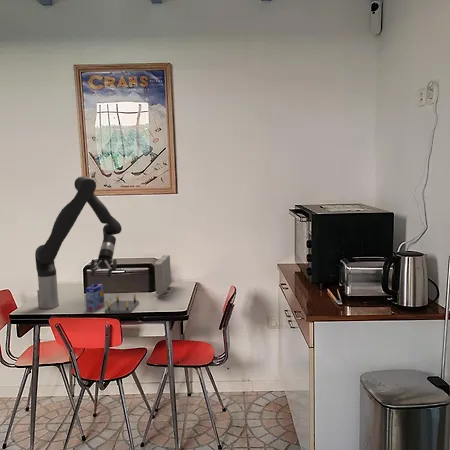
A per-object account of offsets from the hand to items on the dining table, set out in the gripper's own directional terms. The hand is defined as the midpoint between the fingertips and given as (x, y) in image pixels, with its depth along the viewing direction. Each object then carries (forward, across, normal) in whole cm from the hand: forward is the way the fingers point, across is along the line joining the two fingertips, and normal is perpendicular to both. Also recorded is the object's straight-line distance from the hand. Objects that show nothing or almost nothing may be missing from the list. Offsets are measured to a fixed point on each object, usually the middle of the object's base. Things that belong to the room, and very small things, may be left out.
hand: (100, 276), depth 239 cm
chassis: (+17, +14, +4) cm, 22 cm away
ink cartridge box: (+18, 0, +4) cm, 18 cm away
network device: (-5, +29, +26) cm, 39 cm away
